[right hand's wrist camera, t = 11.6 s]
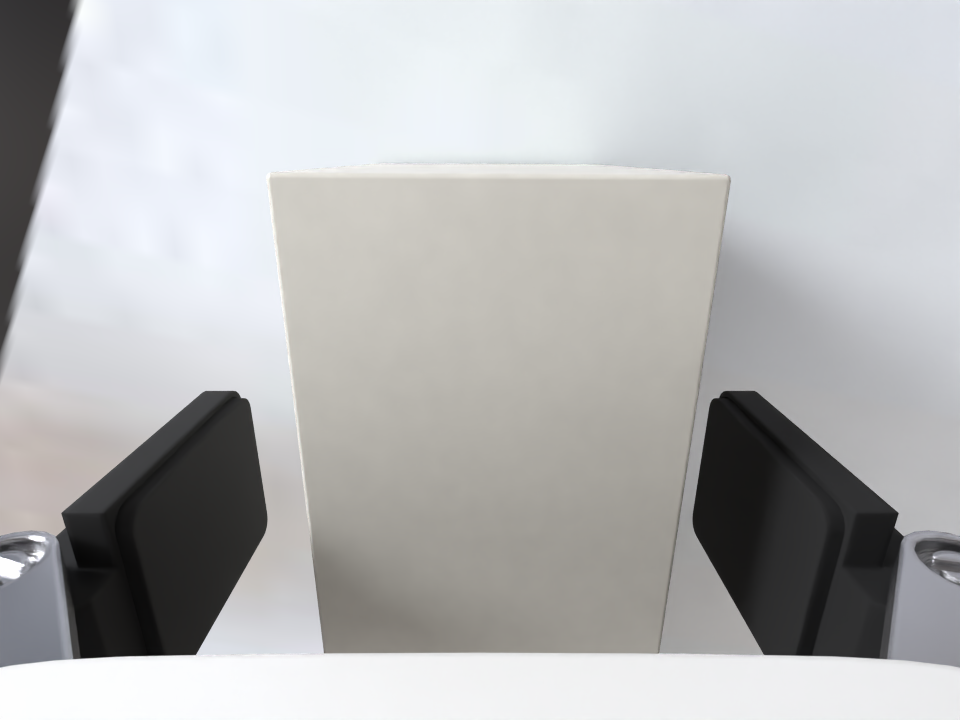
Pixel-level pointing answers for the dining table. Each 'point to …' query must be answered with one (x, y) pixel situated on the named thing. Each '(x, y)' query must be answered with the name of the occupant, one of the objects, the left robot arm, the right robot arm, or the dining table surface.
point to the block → (495, 396)
